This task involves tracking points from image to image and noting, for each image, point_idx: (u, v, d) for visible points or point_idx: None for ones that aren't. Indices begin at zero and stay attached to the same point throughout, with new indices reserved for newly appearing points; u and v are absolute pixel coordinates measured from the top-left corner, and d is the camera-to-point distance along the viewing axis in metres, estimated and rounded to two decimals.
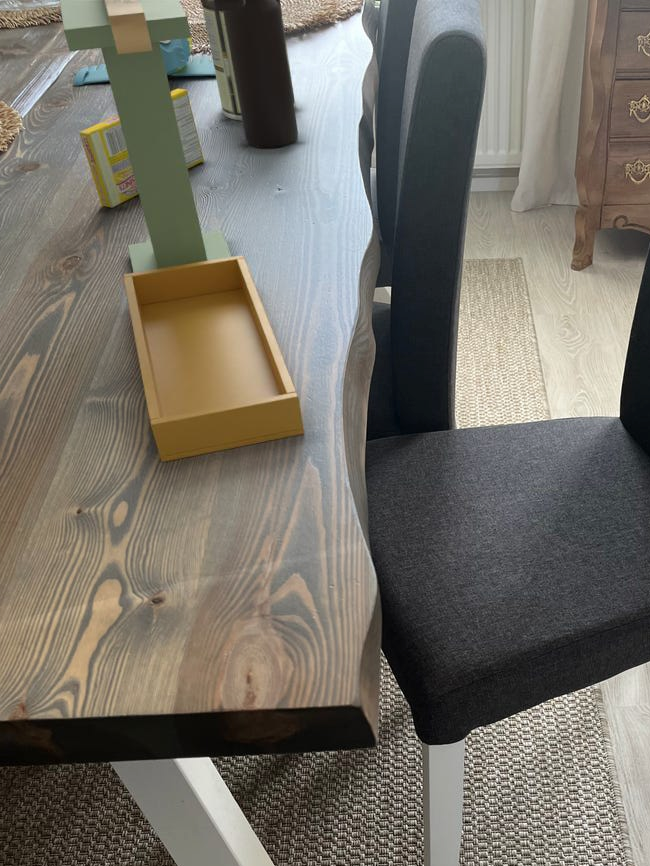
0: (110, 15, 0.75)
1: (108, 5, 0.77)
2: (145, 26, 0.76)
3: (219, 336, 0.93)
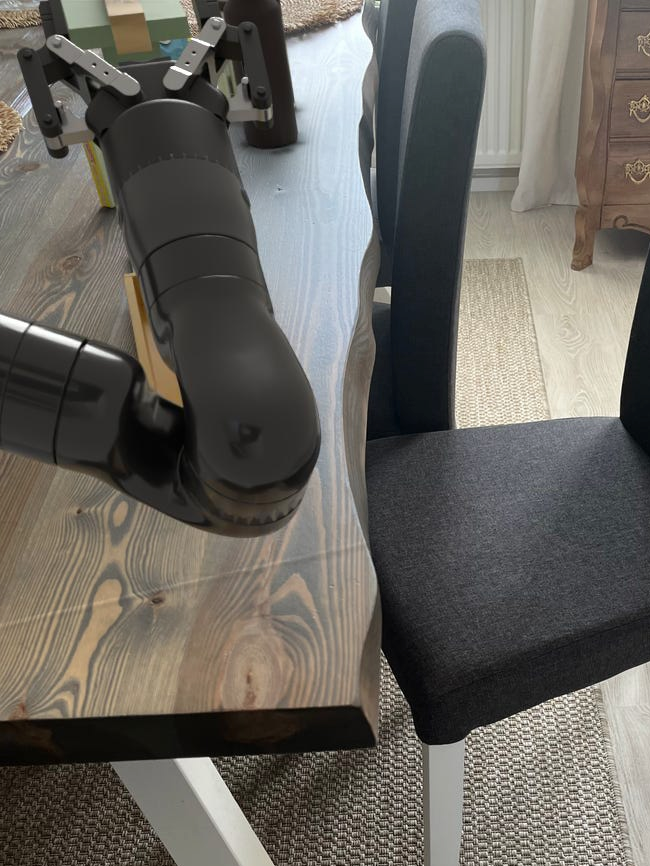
0: (110, 15, 0.75)
1: (108, 5, 0.77)
2: (145, 26, 0.76)
3: None
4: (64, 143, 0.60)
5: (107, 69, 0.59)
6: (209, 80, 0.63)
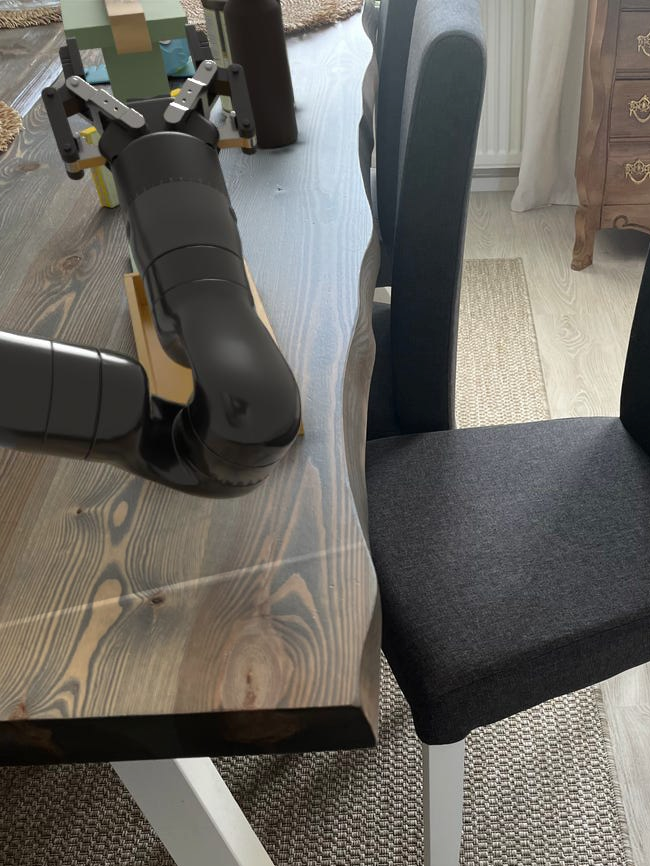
0: (110, 15, 0.75)
1: (108, 5, 0.77)
2: (145, 26, 0.76)
3: None
4: (81, 167, 0.71)
5: (117, 105, 0.71)
6: (203, 113, 0.74)
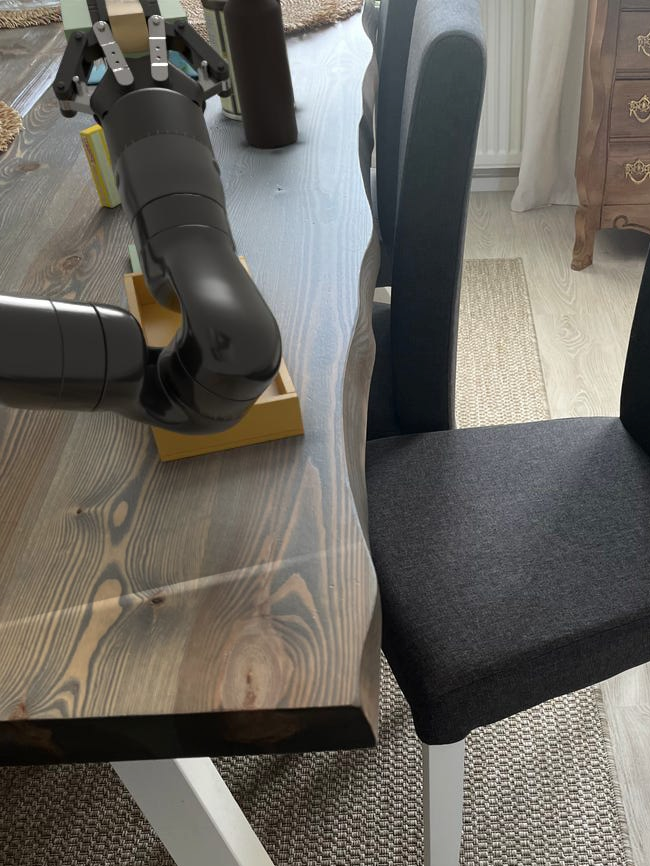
0: (110, 15, 0.75)
1: (108, 5, 0.77)
2: (145, 26, 0.76)
3: None
4: (70, 108, 0.76)
5: (120, 60, 0.75)
6: None
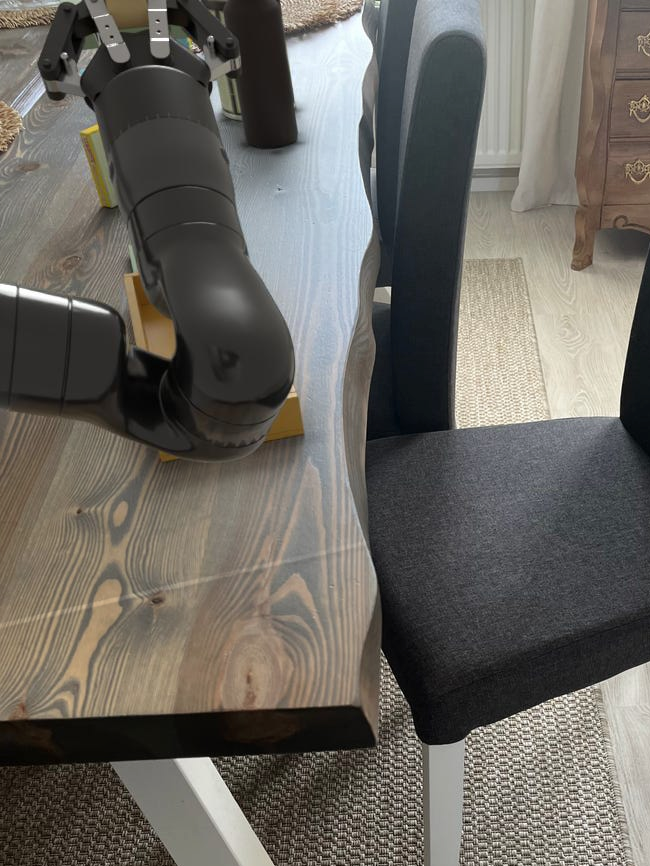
0: None
1: None
2: None
3: None
4: (58, 89, 0.66)
5: (114, 34, 0.66)
6: None
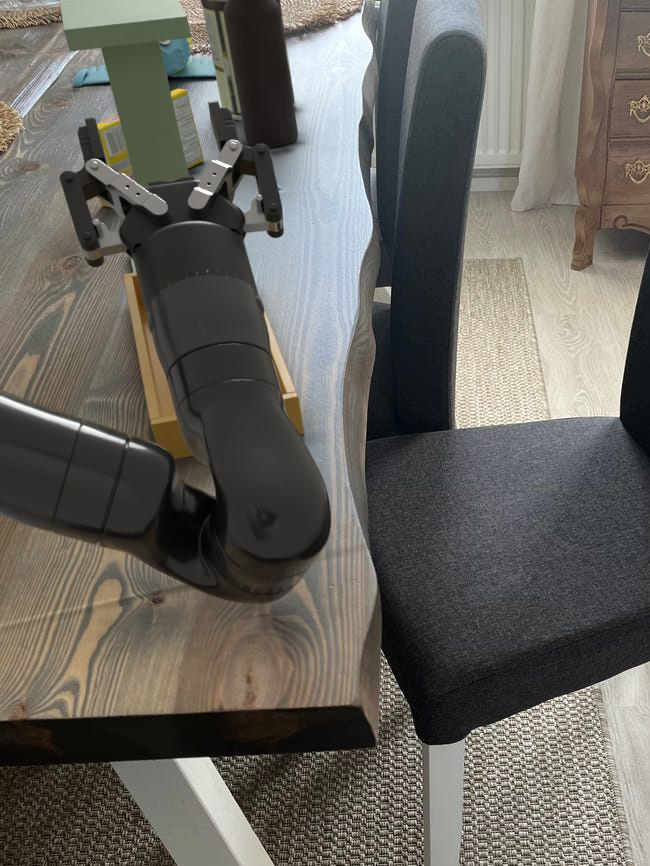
0: None
1: None
2: None
3: None
4: (101, 254, 0.68)
5: (139, 190, 0.67)
6: (227, 194, 0.71)
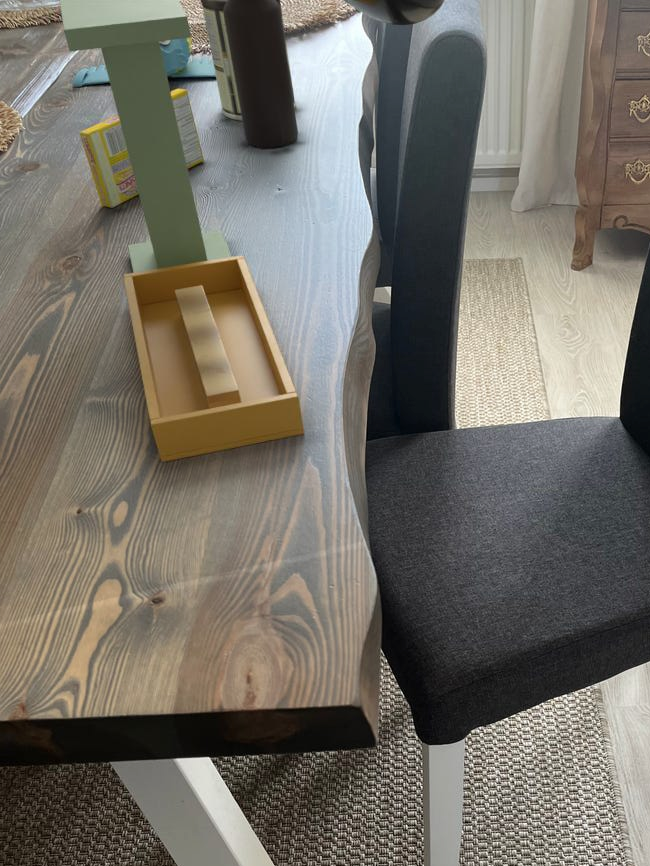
0: (208, 394, 0.81)
1: (203, 376, 0.83)
2: (239, 400, 0.82)
3: None
4: None
5: None
6: None
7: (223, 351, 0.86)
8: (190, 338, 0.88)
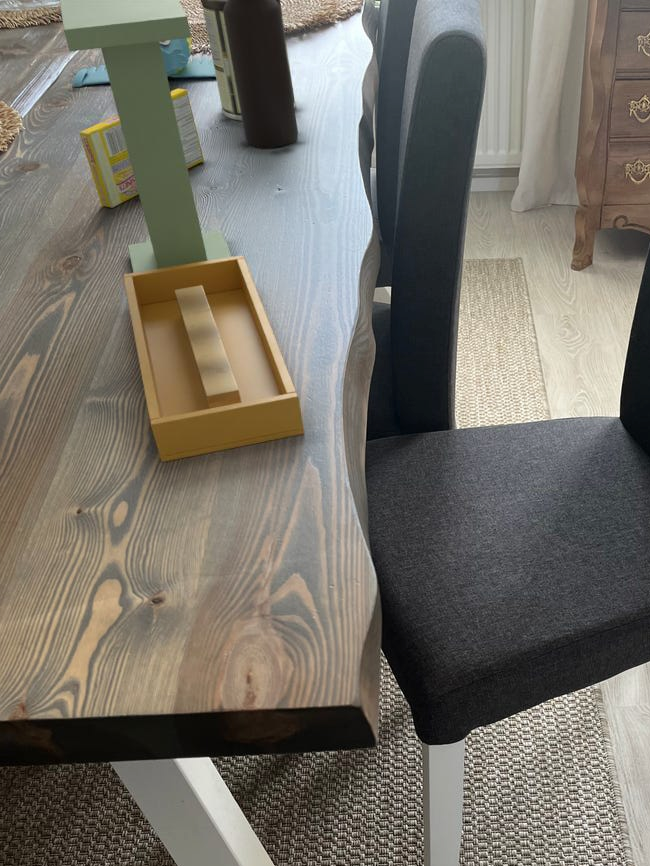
0: (208, 394, 0.81)
1: (203, 376, 0.83)
2: (239, 400, 0.82)
3: None
4: None
5: None
6: None
7: (223, 351, 0.86)
8: (190, 338, 0.88)
